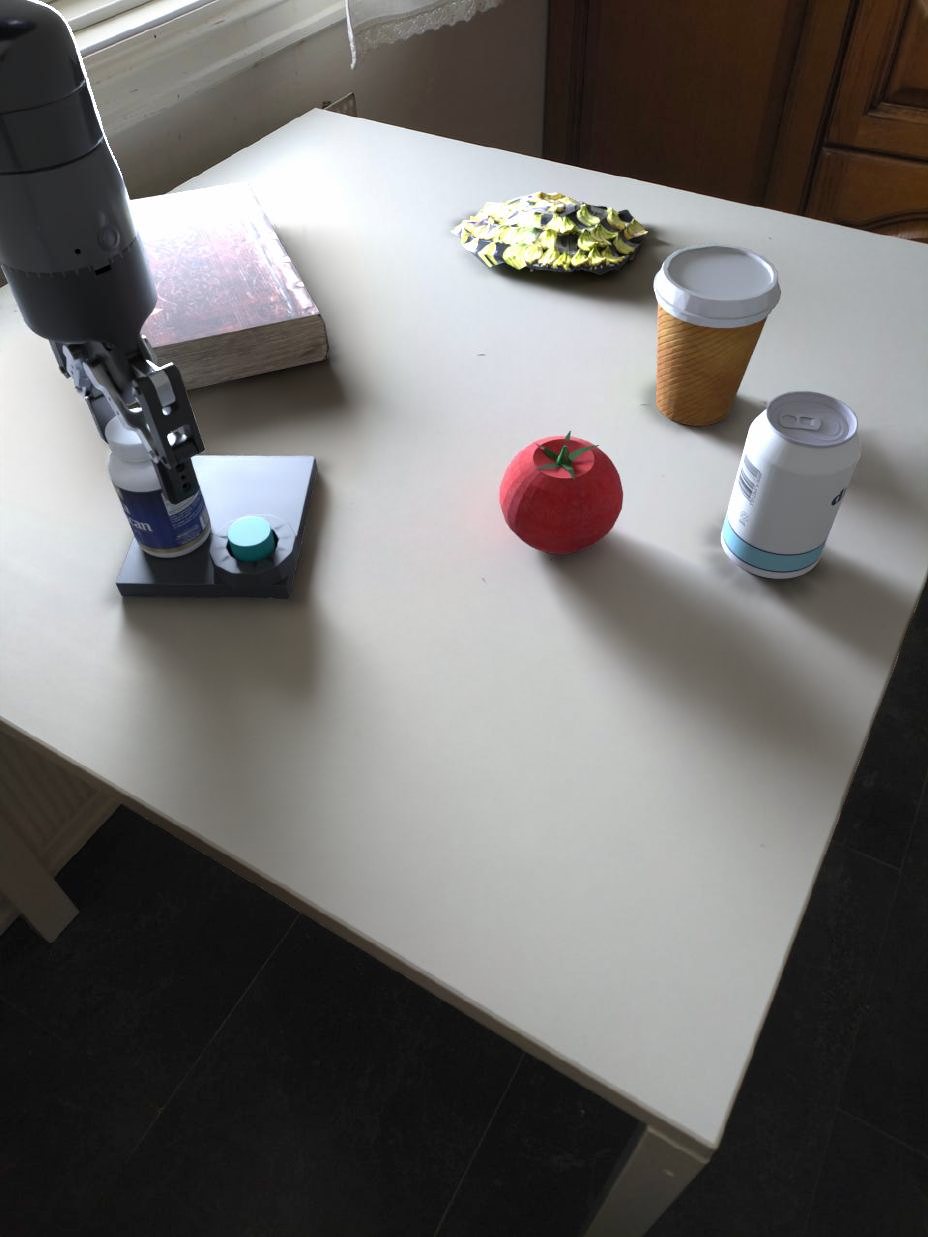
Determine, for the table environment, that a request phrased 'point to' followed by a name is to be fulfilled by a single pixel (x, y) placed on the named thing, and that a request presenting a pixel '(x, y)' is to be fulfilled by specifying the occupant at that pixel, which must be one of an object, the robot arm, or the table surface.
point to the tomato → (561, 494)
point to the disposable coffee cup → (709, 327)
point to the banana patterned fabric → (552, 234)
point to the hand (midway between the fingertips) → (150, 466)
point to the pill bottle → (152, 499)
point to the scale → (229, 496)
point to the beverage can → (790, 484)
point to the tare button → (251, 539)
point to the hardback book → (224, 288)
